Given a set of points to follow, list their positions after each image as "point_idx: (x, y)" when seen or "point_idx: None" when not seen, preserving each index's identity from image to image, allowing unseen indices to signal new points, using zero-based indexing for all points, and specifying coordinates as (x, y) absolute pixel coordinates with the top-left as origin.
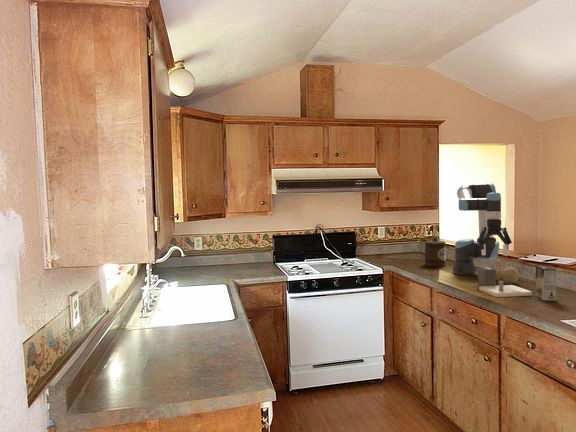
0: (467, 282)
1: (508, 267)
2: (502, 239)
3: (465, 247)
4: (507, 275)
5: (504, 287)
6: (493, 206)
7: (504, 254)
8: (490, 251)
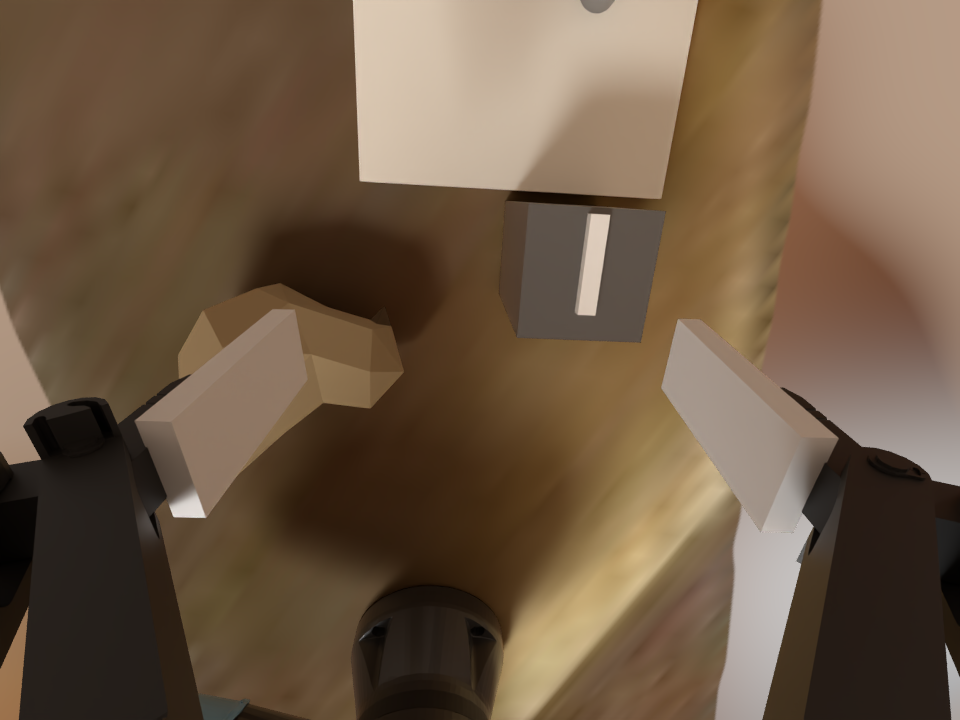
0: (570, 428)
1: None
2: (164, 594)
3: None
4: (321, 311)
5: (489, 104)
6: None
7: (295, 362)
8: None
